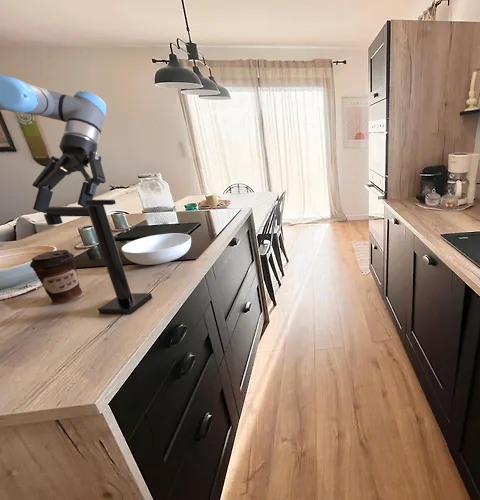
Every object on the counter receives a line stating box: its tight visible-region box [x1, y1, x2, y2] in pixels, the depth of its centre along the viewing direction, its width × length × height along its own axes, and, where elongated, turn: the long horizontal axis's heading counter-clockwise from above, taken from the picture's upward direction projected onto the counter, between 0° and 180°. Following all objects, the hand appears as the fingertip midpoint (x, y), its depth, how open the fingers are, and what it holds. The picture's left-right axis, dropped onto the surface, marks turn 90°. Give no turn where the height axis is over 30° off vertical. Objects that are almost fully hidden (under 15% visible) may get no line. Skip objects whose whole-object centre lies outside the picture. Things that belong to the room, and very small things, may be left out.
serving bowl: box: [120, 232, 192, 266], centre depth 103 cm, size 21×21×7 cm
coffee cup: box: [29, 249, 84, 305], centre depth 76 cm, size 9×8×13 cm
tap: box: [43, 199, 153, 315], centre depth 70 cm, size 17×8×28 cm, turn 88°
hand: (61, 208), depth 77 cm, fingers open, 13 cm apart
